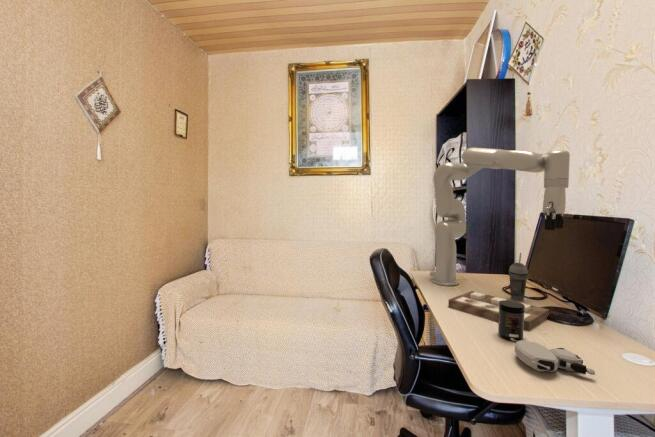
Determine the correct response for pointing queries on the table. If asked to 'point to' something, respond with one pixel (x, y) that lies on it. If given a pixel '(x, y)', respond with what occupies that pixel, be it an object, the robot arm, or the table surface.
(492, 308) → the button board
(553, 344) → the table surface
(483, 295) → the button
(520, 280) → the beverage cup
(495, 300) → the middle button
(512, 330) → the supplement container
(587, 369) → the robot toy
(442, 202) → the robot arm
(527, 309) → the button
